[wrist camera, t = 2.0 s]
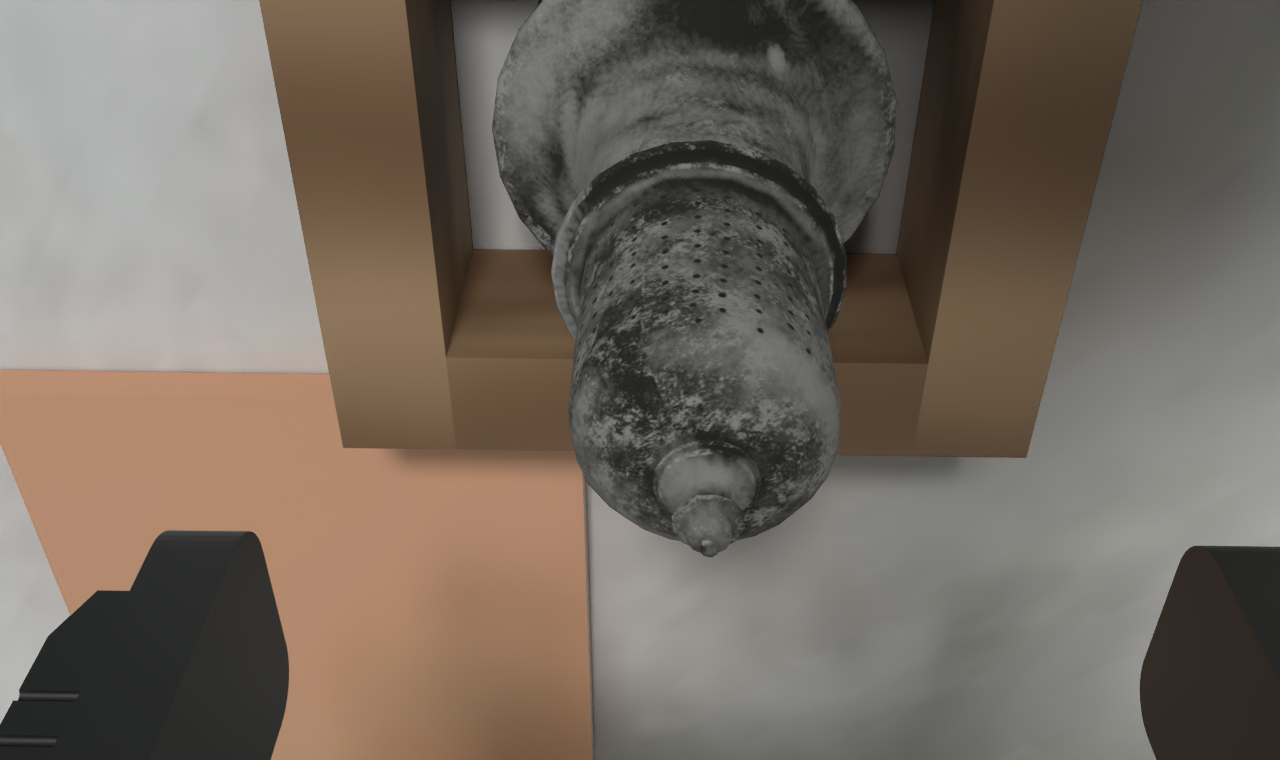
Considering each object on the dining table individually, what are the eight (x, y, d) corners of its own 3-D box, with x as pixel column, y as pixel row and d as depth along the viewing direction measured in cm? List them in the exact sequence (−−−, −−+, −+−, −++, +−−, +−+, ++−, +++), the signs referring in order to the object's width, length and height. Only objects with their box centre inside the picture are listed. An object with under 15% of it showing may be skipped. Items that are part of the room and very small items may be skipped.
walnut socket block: (273, -370, 17) (196, -338, 14) (1134, -365, 17) (1227, -332, 14) (380, 334, 24) (342, 448, 21) (984, 342, 24) (1026, 457, 21)
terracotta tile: (-3, 369, 25) (-21, 393, 24) (582, 377, 25) (580, 402, 24) (140, 734, 32) (129, 760, 32) (593, 742, 32) (592, 768, 31)
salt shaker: (617, 248, 23) (580, 808, 13) (449, -30, 20) (246, 440, 10) (914, 118, 21) (1116, 653, 12) (781, -208, 18) (908, 156, 9)
